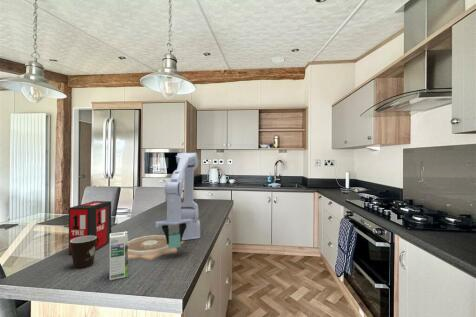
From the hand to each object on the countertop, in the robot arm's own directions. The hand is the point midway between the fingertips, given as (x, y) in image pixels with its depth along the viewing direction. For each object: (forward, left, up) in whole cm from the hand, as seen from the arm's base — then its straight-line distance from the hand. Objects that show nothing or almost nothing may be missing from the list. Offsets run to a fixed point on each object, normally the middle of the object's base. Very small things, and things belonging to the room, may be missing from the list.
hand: (174, 242), depth 100 cm
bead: (0, 0, -2) cm, 2 cm away
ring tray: (+9, -14, -6) cm, 18 cm away
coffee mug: (+32, -5, -6) cm, 33 cm away
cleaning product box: (+34, -24, -6) cm, 42 cm away
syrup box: (+20, +10, -6) cm, 23 cm away
